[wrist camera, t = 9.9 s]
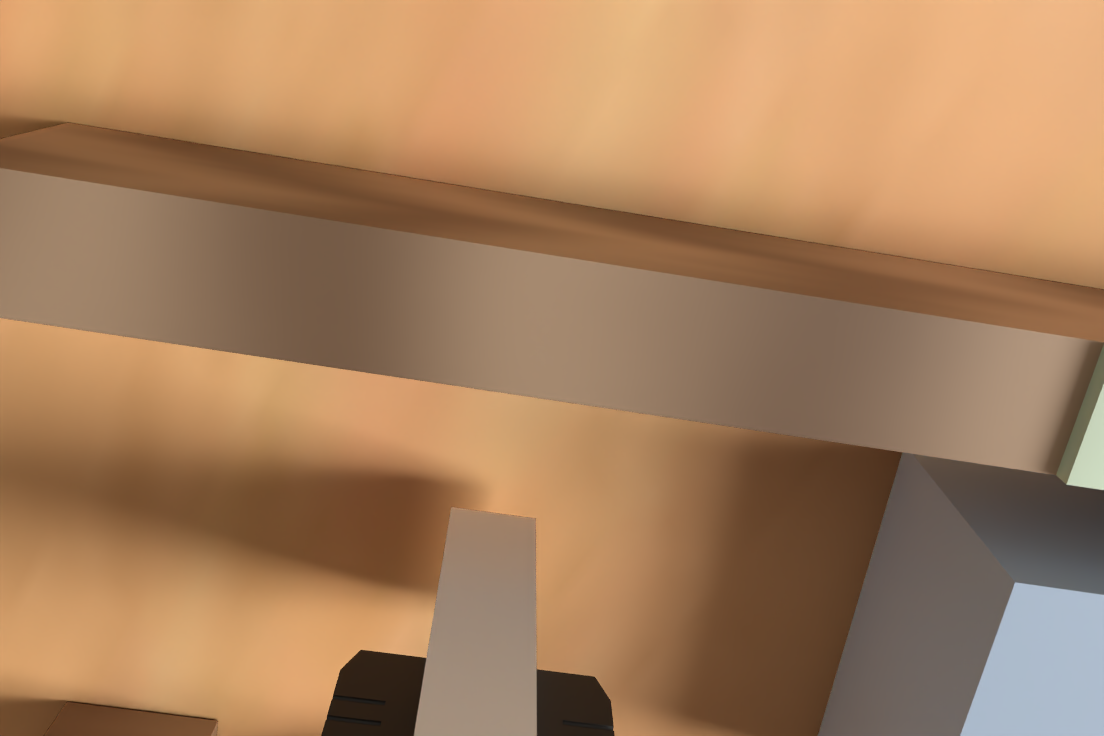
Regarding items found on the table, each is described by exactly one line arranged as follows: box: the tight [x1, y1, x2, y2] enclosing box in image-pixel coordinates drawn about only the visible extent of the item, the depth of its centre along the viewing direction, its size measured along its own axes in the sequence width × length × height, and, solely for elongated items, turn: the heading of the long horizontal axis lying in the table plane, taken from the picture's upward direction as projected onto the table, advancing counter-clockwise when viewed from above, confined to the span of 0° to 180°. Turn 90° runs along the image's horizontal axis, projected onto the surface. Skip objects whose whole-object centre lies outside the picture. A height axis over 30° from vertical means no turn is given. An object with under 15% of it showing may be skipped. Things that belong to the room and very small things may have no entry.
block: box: [818, 452, 1104, 736], centre depth 18 cm, size 7×7×5 cm
